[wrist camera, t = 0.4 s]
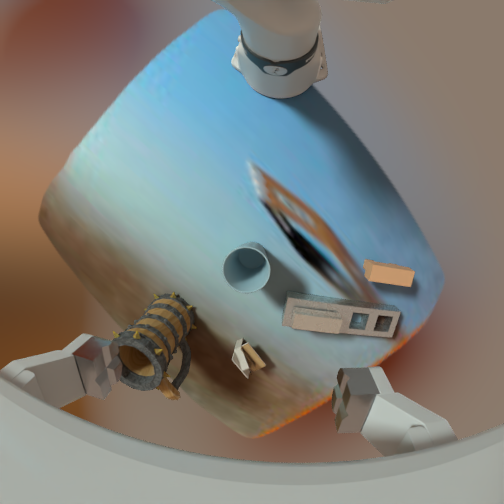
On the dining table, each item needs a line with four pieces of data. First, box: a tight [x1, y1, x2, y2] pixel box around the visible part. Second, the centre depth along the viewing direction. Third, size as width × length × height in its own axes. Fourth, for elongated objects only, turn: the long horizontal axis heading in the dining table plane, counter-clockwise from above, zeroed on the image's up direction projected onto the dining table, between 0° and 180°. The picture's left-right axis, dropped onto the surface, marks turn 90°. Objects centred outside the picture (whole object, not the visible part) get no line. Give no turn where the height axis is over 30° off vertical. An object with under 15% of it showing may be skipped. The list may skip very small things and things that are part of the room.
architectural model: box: [232, 338, 266, 379], centre depth 57 cm, size 3×7×7 cm, turn 34°
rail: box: [282, 291, 401, 337], centre depth 53 cm, size 6×24×7 cm, turn 82°
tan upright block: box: [363, 259, 415, 287], centre depth 50 cm, size 3×9×7 cm, turn 82°
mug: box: [112, 292, 197, 400], centre depth 50 cm, size 13×17×20 cm
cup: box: [222, 242, 271, 293], centre depth 50 cm, size 8×8×10 cm
